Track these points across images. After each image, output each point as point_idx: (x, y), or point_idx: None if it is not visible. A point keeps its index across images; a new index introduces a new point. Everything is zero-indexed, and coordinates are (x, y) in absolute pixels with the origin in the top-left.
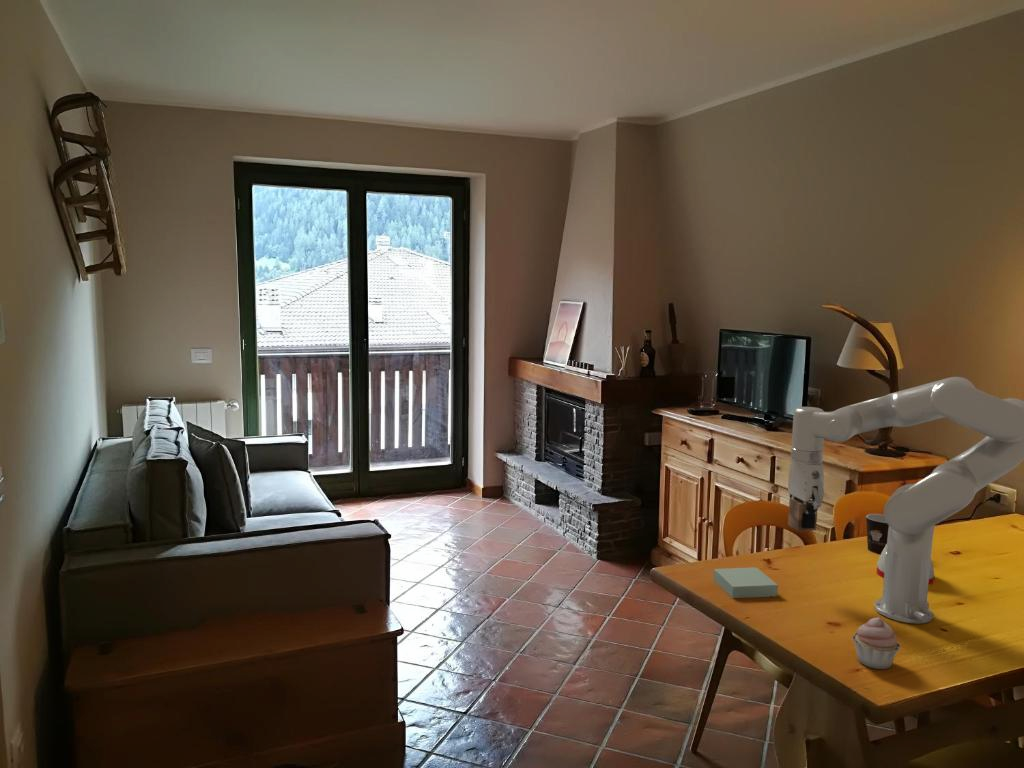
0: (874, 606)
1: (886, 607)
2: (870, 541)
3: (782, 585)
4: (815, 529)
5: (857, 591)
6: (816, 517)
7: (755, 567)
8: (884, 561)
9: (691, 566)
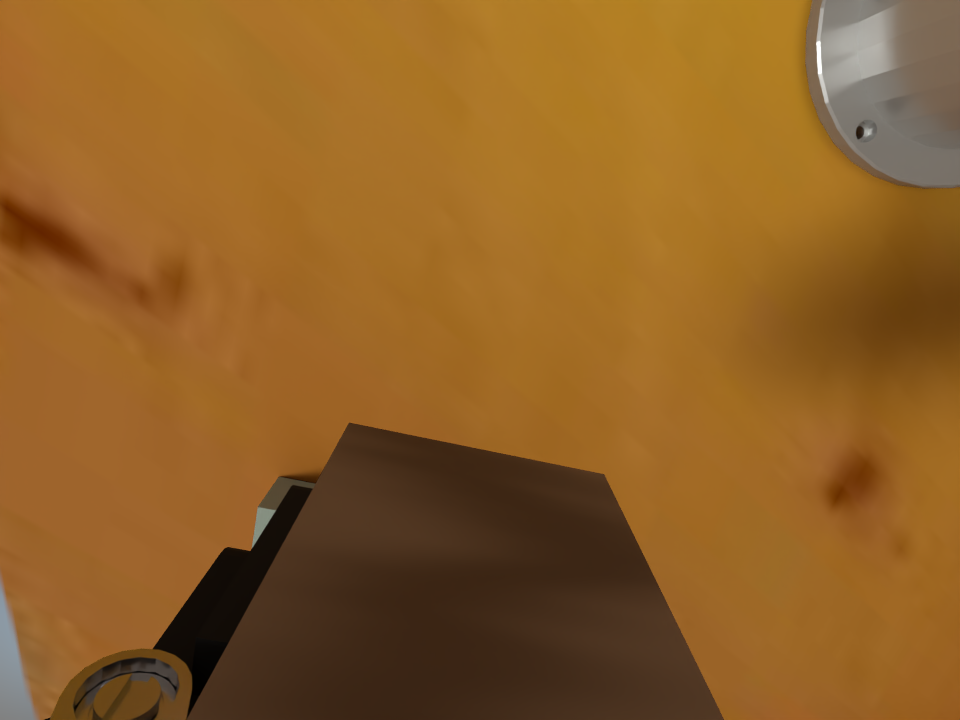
0: (836, 143)
1: (945, 146)
2: None
3: (405, 407)
4: (603, 486)
5: (621, 41)
6: (654, 589)
7: (258, 512)
8: None
9: (60, 674)
